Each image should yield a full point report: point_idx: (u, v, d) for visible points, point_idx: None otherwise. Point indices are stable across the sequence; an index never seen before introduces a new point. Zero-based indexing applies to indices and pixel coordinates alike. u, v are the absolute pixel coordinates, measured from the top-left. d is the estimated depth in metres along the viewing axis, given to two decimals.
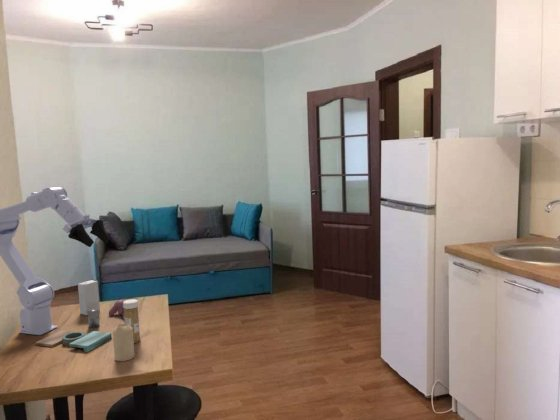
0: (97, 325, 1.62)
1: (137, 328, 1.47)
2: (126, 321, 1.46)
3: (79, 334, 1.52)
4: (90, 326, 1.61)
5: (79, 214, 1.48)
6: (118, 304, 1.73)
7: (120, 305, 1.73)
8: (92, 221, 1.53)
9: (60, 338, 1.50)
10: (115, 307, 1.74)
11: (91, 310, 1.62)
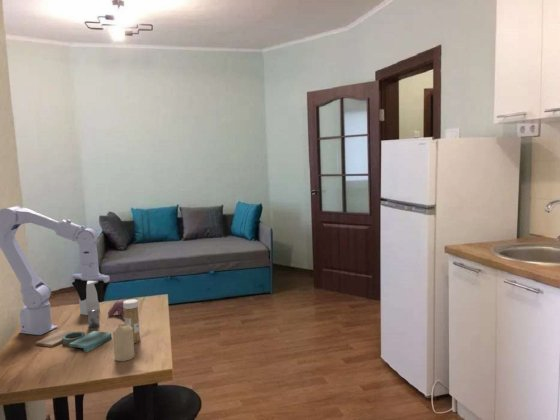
0: (97, 325, 1.62)
1: (137, 328, 1.47)
2: (126, 321, 1.46)
3: (79, 334, 1.52)
4: (90, 326, 1.61)
5: None
6: (117, 304, 1.73)
7: (119, 305, 1.73)
8: None
9: (60, 338, 1.50)
10: (114, 307, 1.74)
11: (91, 310, 1.62)
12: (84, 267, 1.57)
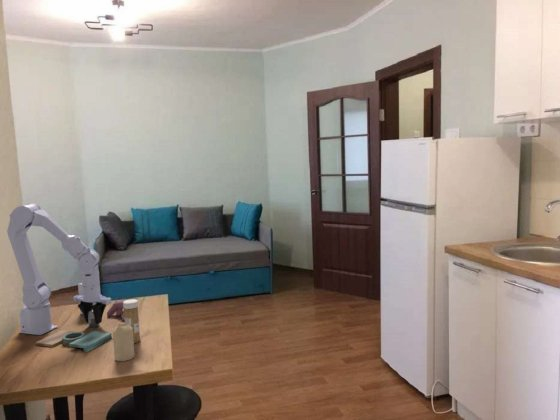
0: (97, 325, 1.62)
1: (137, 328, 1.47)
2: (126, 321, 1.46)
3: (79, 334, 1.52)
4: (90, 326, 1.61)
5: None
6: (116, 305, 1.73)
7: (118, 306, 1.72)
8: None
9: (60, 338, 1.50)
10: (113, 308, 1.73)
11: (91, 310, 1.62)
12: (86, 289, 1.58)
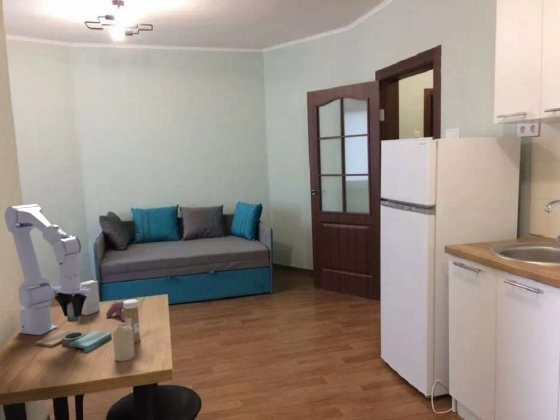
0: (77, 318, 1.48)
1: (137, 328, 1.47)
2: (126, 321, 1.46)
3: (79, 334, 1.52)
4: (69, 319, 1.48)
5: None
6: (116, 305, 1.72)
7: (118, 306, 1.72)
8: None
9: (60, 338, 1.50)
10: (113, 308, 1.73)
11: (70, 302, 1.48)
12: (64, 280, 1.45)
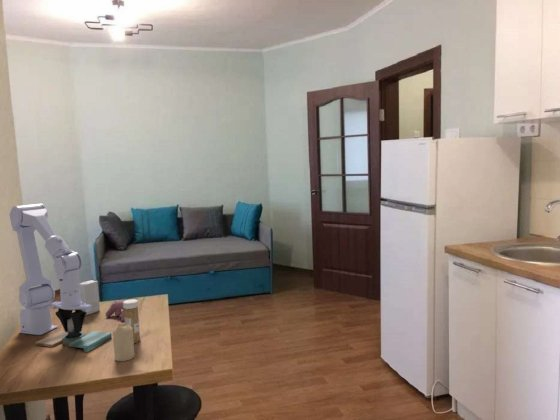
0: (77, 334, 1.49)
1: (137, 328, 1.47)
2: (126, 321, 1.46)
3: None
4: (69, 335, 1.48)
5: None
6: (115, 305, 1.72)
7: (117, 306, 1.71)
8: None
9: (60, 338, 1.50)
10: (112, 308, 1.73)
11: (71, 318, 1.48)
12: (64, 296, 1.45)
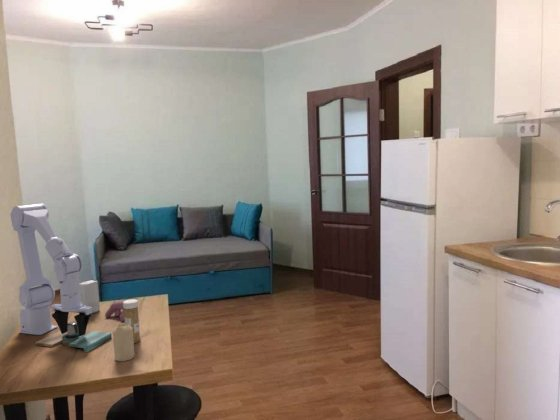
0: None
1: (137, 328, 1.47)
2: (126, 321, 1.46)
3: None
4: None
5: None
6: (115, 305, 1.72)
7: (117, 306, 1.71)
8: None
9: (60, 338, 1.50)
10: (112, 309, 1.72)
11: (71, 324, 1.48)
12: (64, 298, 1.45)
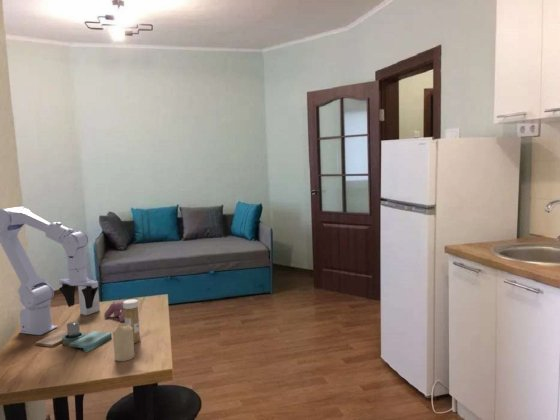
0: None
1: (137, 328, 1.47)
2: (126, 321, 1.46)
3: None
4: None
5: None
6: (114, 306, 1.71)
7: (116, 307, 1.71)
8: None
9: (60, 338, 1.50)
10: (111, 309, 1.72)
11: (71, 324, 1.48)
12: (71, 272, 1.52)
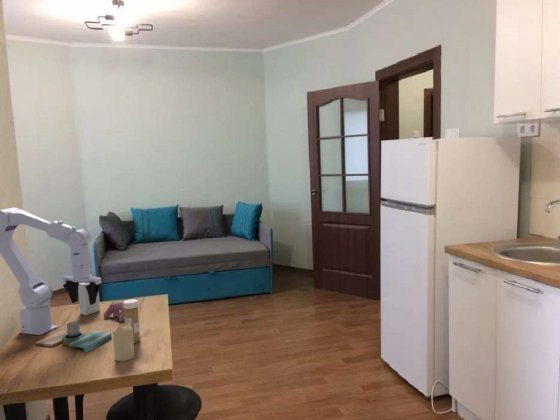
0: None
1: (137, 328, 1.47)
2: (126, 321, 1.46)
3: None
4: None
5: None
6: (113, 306, 1.71)
7: (115, 307, 1.70)
8: None
9: (60, 338, 1.50)
10: (110, 309, 1.72)
11: (71, 324, 1.48)
12: (75, 269, 1.55)
